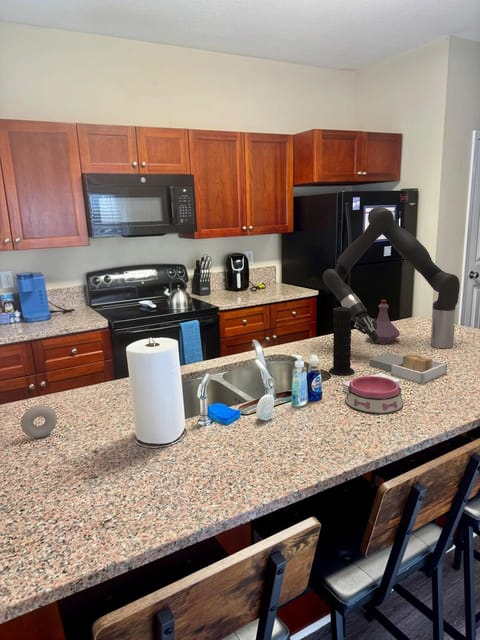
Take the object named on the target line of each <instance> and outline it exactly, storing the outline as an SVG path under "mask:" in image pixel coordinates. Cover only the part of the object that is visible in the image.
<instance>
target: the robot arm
mask: <svg viewBox="0 0 480 640" xmlns="http://www.w3.org/2000/svg"><path fill="white" fill-rule="evenodd" d="M367 221H368V225H367V227H366V229H364V231H363V232H362V234H361V235H360V236H358V237H357V238H356V239H355V240H354V241H352V243H350V244H349V245H348V246H347V247H346V248H345V249H344V251H343V252H342V253H341V255H340V256H339V257H338V258H337V261H336V262H337V265H336V267H335V268H334V269H333V268H327V269H326V270H324V272H323V274H322V281H323V282H324V284H325V285H326V287H327V288H328V289H329V290H330V291H331V292H332V293H333V294H334V296H335V297H336V298H337V300H338V302H340V304H341V307H342V306H343V307H348V308H351V309H352V310H351V314H352V317H351V319H352V320H351V321H353V322H354V323H355V324H354V325H353V328H354V329H355V330H357V331H358V332H360V333H362V334H363V335H367V334H368V335H369V336H370V337H371V338H372V340H373V341H374V342H373V341H372V340H371V341H372V342H373V343H376V342H375V341H377V340H378V339H379V336H378V335H377V333H376V332H375V330H376V329H377V321H376V320H377V318H376V317H374V318H372V317H371V316H370V315H369V314H368V310H367V308H366V307H365V305H364V304H363V302H362V301H361V300H360V299H359V298H360V297H358V296H357V295H356V294H355V292H354V291H353V290H352V288H351V287H350V286H349V285H348V284H346V283H345V280H346V278H347V276H348V275H349V273H350V271H351V269H352V268H353V267H354V266H355V264H356V263H357V262H358V261H359V260H360V258H361V257H362V256H363V255H364V253H365V252H366V251H367V250H369V249H370V247H371V246H372V245H373V244H374V243H375V242H376V241H377V240H378V239H379V238H380V237H381V236H382V235H383V237H385V239H386V240H388V242H389V243H390V245H391V246H392V247H393V248H394V249H395V251H397V253H398V254H399V255H400V256H401V257H402V258H403V259H404V260H405V261H406V263H408V264H409V265H410V266H411V267H412V268H413V269H414V270H416V271H417V272H418V273H419V274H420V275H421V276H422V277H423V279H424V280H425V281H426V282H427V283H428V285H429V286H430V287H431V288H432V289H433V290H434V291H435V292H437V293H438V295H437V300H435V301H433V303H432V314H431V315H432V317H431V333H430V346H431V347H433V348H437V349H451V348H453V347H454V341H455V340H454V339H455V318H456V306H457V305H458V302H459V295H460V288H461V284H460V279H459V277H458V276H457V275H455V274H453V273H449V272H446V271H444V270H443V269H441V268H440V267H439V266H437V265H436V263H435V262H434V261H433V259H432V257H431V255H430V252H429V251H428V249H427V248H426V247H425V246H424V245H423V244H422V242H420V241H419V240H418V239H417V238H416V237H415V236H414V235H412V234H411V233H410V232H409V231H407V230H405V229H404V228H403V227H401V225H399V223H398V222H397V221H396V220H395V216H394V213H393V212H392V210H390V209H388V208H386V207H383V206H376V207H373V208H371V209H370V210H369V212H368V215H367ZM368 335H367V336H368ZM369 336H368V337H369ZM370 337H369V338H370Z"/></svg>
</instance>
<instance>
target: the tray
mask: <svg viewBox="0 0 480 640" xmlns="http://www.w3.org/2000/svg"><path fill="white" fill-rule="evenodd" d="M447 371H448V363H447V362H443V361H439V360H438V361H437V360H434V359H432V369H429V370H427V371H424V372H418V371H415V370H411V369H408V368H404V367H401V366H397V365H394V364H393V365H392V371H391V372H390V373H391V375H390V376H393V377H394V376H395V377H397V378H401V379H404V380H407V381H410V382H414V383H417V384H420V385H424V384H426V383H428V382H431V381H433V380H435V379H437V378H439V377H442V376H444V375H447V373H448V372H447Z"/></svg>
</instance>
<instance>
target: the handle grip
mask: <svg viewBox="0 0 480 640" xmlns="http://www.w3.org/2000/svg"><path fill="white" fill-rule="evenodd" d="M351 310H352V309H351V308H348V307H343V306H342V305H341V306H338V307H334V308H333V316H332V317H333V319H332V320H333V322H332V326H333V327H332V329H333V331H332V333H333V335H332V337H333V338H332V341H333V343H332V349H333V350H332V352H333V353H332V357H333V358H332V360H333V361H332V367H330V368H329V370H328V373H329V375H330V374H331V375H333V376H335V377H348V376H352V375H354V374H355V373H356V372H355V370H354V368H352V367H351V366H352V364H351V361H352V358H351V357H352V354H351V353H352V351H351V350H352V346H351V345H352V321H353V320H352V319H351V317H352V314H351Z"/></svg>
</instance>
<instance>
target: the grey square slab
mask: <svg viewBox="0 0 480 640" xmlns="http://www.w3.org/2000/svg"><path fill="white" fill-rule="evenodd" d="M368 362H369V363H368V367H371V368H374V369H378V370H381V371H385V372H387V373H391V371H392V365H393V364H394V365H397V366H401V367H403V356H402V355H398V354H394V353H390V352H384V353H383V354H379V355H377V356H374V357H371V358H369V359H368Z"/></svg>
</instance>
